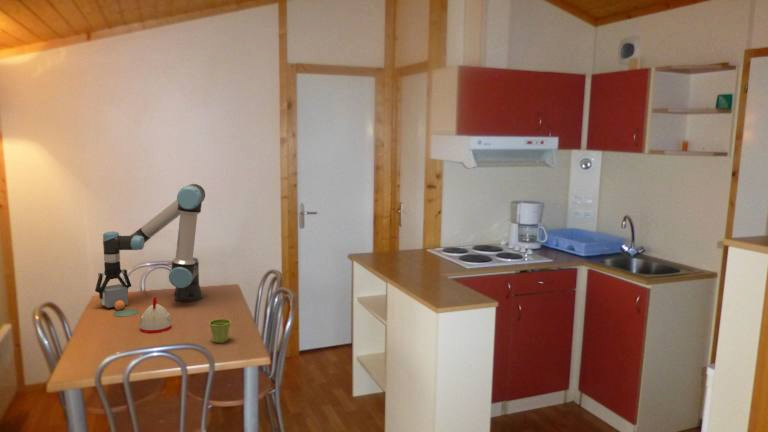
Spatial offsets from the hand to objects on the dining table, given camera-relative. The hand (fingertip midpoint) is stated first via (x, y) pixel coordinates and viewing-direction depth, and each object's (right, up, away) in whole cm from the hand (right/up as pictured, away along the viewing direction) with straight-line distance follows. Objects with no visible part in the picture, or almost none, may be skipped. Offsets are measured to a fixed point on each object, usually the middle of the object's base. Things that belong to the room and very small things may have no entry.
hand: (114, 302), depth 301 cm
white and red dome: (+35, -8, -32) cm, 48 cm away
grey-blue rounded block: (0, -1, 0) cm, 1 cm away
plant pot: (+69, -10, -47) cm, 84 cm away
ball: (+5, -1, -5) cm, 8 cm away
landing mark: (+11, -4, -10) cm, 15 cm away
